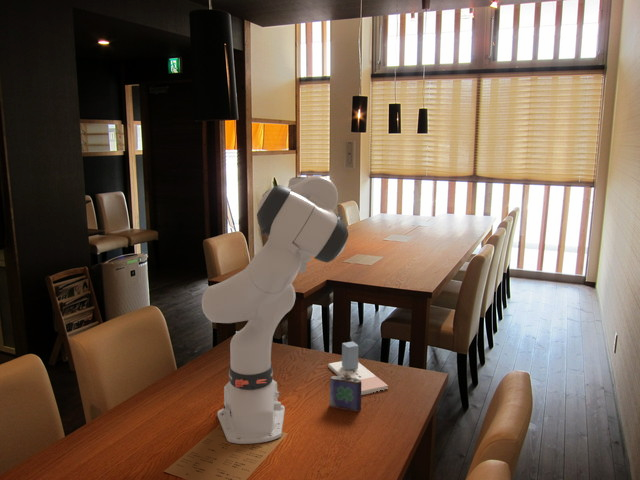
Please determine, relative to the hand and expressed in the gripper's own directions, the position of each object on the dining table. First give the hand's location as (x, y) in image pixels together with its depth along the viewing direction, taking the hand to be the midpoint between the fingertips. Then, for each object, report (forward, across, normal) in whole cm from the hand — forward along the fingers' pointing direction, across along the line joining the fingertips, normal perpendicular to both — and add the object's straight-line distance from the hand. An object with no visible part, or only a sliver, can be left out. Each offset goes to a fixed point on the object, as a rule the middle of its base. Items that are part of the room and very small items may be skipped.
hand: (300, 269), depth 174 cm
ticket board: (+34, -11, -17) cm, 40 cm away
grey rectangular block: (+32, -6, -16) cm, 37 cm away
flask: (+34, -29, -9) cm, 46 cm away
